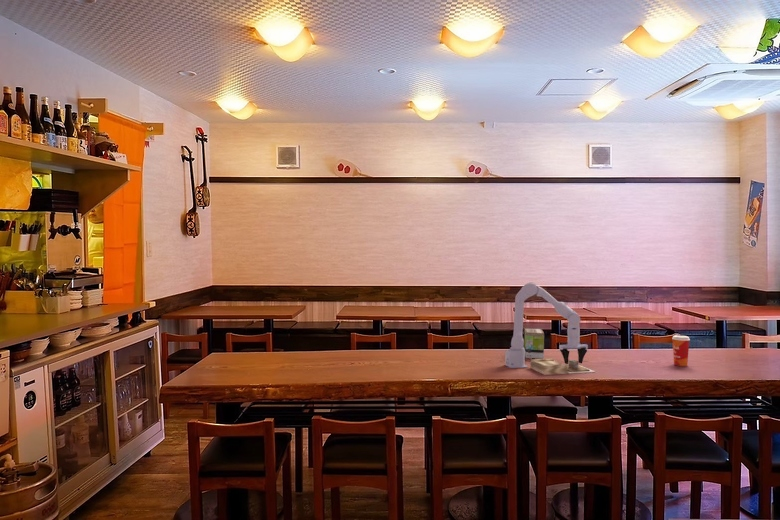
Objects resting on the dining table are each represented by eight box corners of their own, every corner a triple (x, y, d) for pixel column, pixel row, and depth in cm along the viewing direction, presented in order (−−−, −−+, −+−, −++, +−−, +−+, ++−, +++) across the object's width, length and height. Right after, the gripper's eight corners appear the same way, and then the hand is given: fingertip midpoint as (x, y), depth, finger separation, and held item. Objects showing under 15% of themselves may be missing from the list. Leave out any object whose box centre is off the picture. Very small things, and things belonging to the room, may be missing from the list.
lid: (569, 372, 245) (569, 363, 245) (558, 366, 256) (558, 358, 256) (589, 371, 247) (589, 362, 246) (577, 365, 258) (577, 358, 257)
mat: (568, 373, 243) (568, 372, 243) (554, 367, 257) (554, 366, 257) (595, 372, 246) (595, 371, 246) (579, 365, 259) (579, 365, 259)
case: (544, 374, 241) (544, 365, 241) (530, 368, 255) (530, 359, 255) (567, 373, 243) (567, 364, 243) (552, 367, 257) (552, 358, 257)
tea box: (544, 359, 276) (544, 332, 275) (525, 358, 278) (525, 332, 277) (541, 353, 290) (541, 328, 290) (523, 353, 292) (523, 327, 292)
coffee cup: (670, 362, 266) (670, 334, 266) (687, 363, 264) (688, 335, 263) (673, 366, 259) (673, 337, 258) (691, 367, 256) (691, 338, 256)
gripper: (564, 338, 246) (564, 365, 246) (591, 337, 248) (591, 364, 249) (557, 335, 253) (557, 362, 253) (583, 334, 255) (583, 361, 255)
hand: (573, 363), depth 251 cm, fingers open, 7 cm apart
